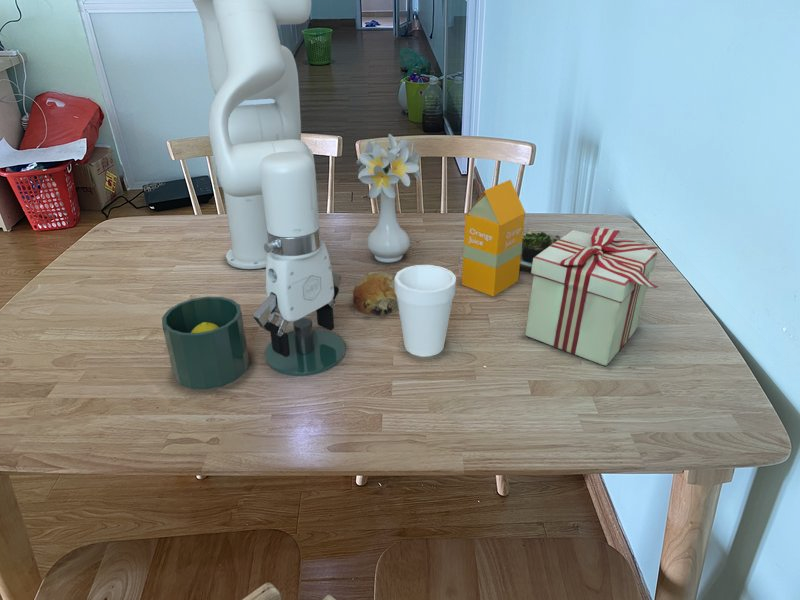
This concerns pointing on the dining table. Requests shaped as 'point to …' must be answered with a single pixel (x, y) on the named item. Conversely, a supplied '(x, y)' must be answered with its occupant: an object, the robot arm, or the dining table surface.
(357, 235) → the dining table surface
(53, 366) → the dining table surface
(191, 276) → the dining table surface
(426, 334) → the foam cup
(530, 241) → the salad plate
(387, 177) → the flower vase
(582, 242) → the gift box
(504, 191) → the orange juice
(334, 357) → the lid
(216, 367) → the pot
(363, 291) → the bread roll
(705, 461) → the dining table surface
